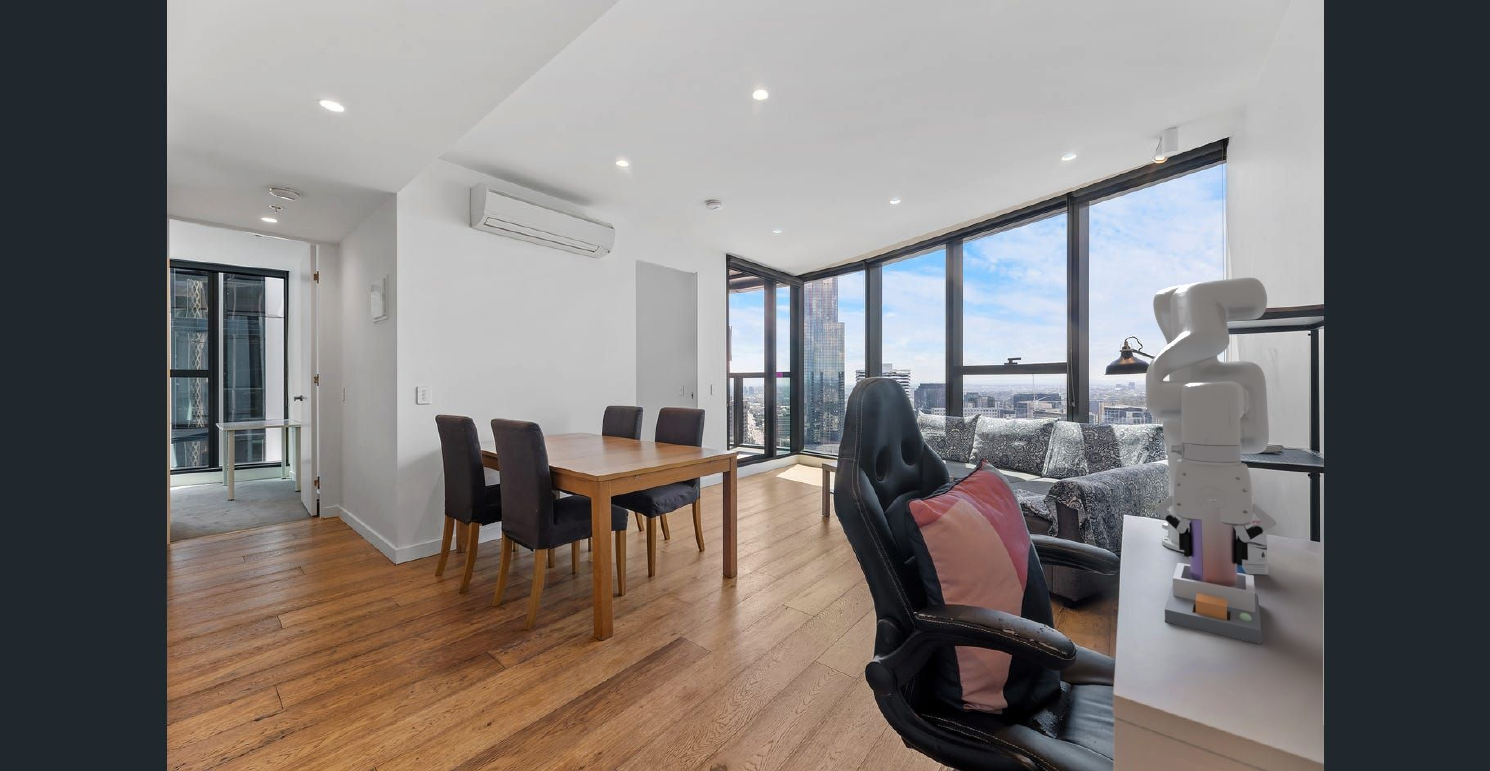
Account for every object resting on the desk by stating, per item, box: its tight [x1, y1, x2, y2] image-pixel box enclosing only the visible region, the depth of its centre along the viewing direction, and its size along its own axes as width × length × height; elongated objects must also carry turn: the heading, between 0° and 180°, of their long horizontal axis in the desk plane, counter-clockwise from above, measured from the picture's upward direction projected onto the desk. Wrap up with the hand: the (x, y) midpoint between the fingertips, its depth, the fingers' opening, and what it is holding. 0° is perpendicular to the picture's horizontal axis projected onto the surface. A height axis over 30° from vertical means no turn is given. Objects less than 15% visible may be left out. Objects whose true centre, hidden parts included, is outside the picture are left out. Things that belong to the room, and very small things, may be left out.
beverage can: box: [1189, 499, 1237, 588], centre depth 88 cm, size 6×6×15 cm
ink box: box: [1236, 515, 1269, 575], centre depth 104 cm, size 9×5×12 cm, turn 84°
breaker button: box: [1195, 593, 1227, 620], centre depth 82 cm, size 4×4×3 cm
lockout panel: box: [1164, 562, 1262, 645], centre depth 86 cm, size 18×11×5 cm, turn 136°
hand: (1212, 558), depth 89 cm, fingers closed on beverage can, 6 cm apart
